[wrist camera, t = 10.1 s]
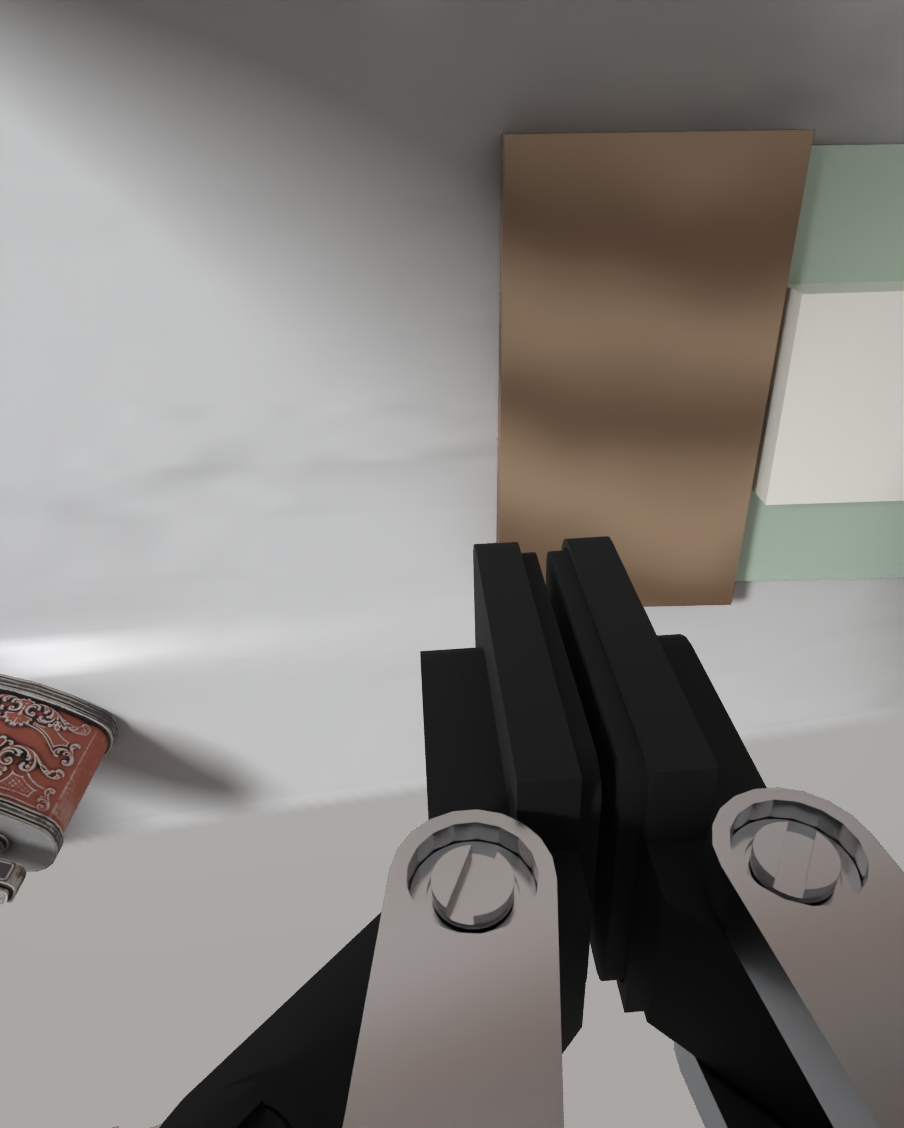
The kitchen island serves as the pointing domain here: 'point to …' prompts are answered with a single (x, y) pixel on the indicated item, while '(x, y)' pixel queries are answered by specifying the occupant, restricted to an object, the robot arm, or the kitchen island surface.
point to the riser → (641, 343)
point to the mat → (837, 255)
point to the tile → (835, 397)
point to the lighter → (43, 772)
